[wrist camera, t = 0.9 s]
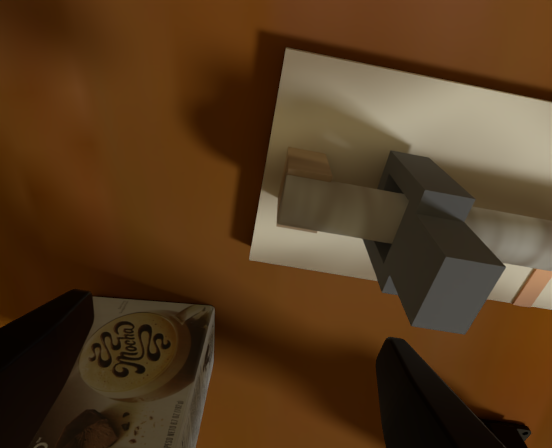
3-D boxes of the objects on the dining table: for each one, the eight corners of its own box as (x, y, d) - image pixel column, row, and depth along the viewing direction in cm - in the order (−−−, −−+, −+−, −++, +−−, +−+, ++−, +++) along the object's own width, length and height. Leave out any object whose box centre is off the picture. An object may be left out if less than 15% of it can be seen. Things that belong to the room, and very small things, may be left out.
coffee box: (104, 354, 29) (-74, 669, 14) (91, 292, 26) (-151, 617, 11) (216, 363, 29) (148, 684, 15) (217, 303, 26) (132, 636, 12)
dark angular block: (395, 240, 20) (453, 353, 13) (361, 234, 20) (401, 345, 13) (428, 157, 18) (522, 240, 11) (390, 150, 18) (459, 229, 11)
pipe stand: (614, 307, 25) (702, 381, 20) (251, 246, 23) (240, 310, 18) (755, 142, 19) (932, 185, 14) (286, 47, 18) (285, 54, 12)
